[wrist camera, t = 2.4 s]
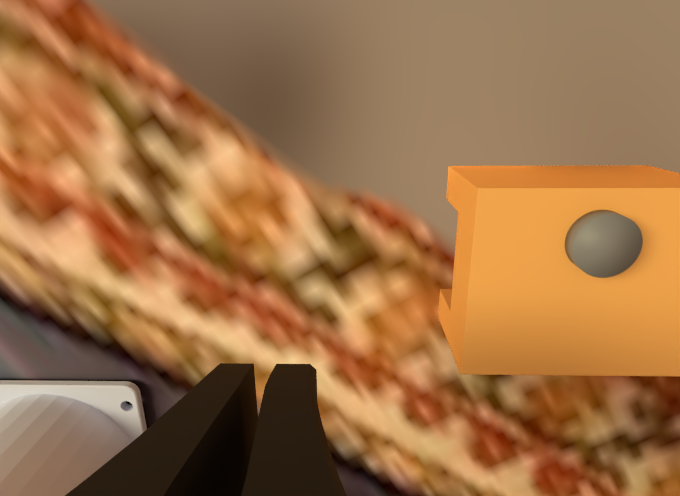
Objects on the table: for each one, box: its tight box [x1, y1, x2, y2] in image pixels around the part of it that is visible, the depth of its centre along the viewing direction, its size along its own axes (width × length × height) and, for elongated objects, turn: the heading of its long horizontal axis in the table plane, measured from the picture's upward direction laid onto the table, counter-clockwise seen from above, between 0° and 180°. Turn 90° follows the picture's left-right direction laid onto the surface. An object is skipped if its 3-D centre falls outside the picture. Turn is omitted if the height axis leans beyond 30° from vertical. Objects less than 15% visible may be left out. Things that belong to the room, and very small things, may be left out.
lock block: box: [438, 165, 680, 376], centre depth 15 cm, size 6×7×5 cm
